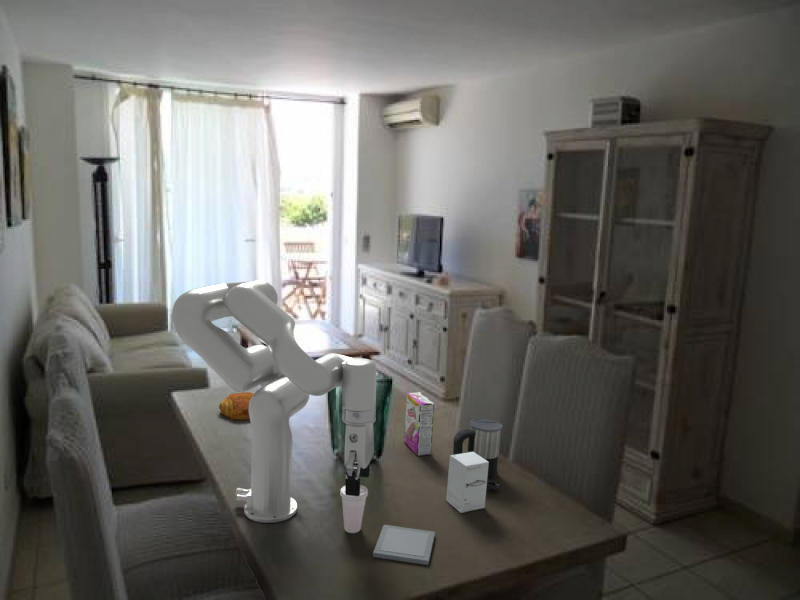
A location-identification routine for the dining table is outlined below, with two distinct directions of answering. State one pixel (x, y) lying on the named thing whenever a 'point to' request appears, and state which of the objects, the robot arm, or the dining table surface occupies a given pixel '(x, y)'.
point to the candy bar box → (419, 423)
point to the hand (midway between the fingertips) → (357, 485)
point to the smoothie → (353, 509)
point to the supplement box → (467, 481)
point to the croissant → (236, 406)
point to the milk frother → (482, 445)
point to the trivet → (404, 544)
